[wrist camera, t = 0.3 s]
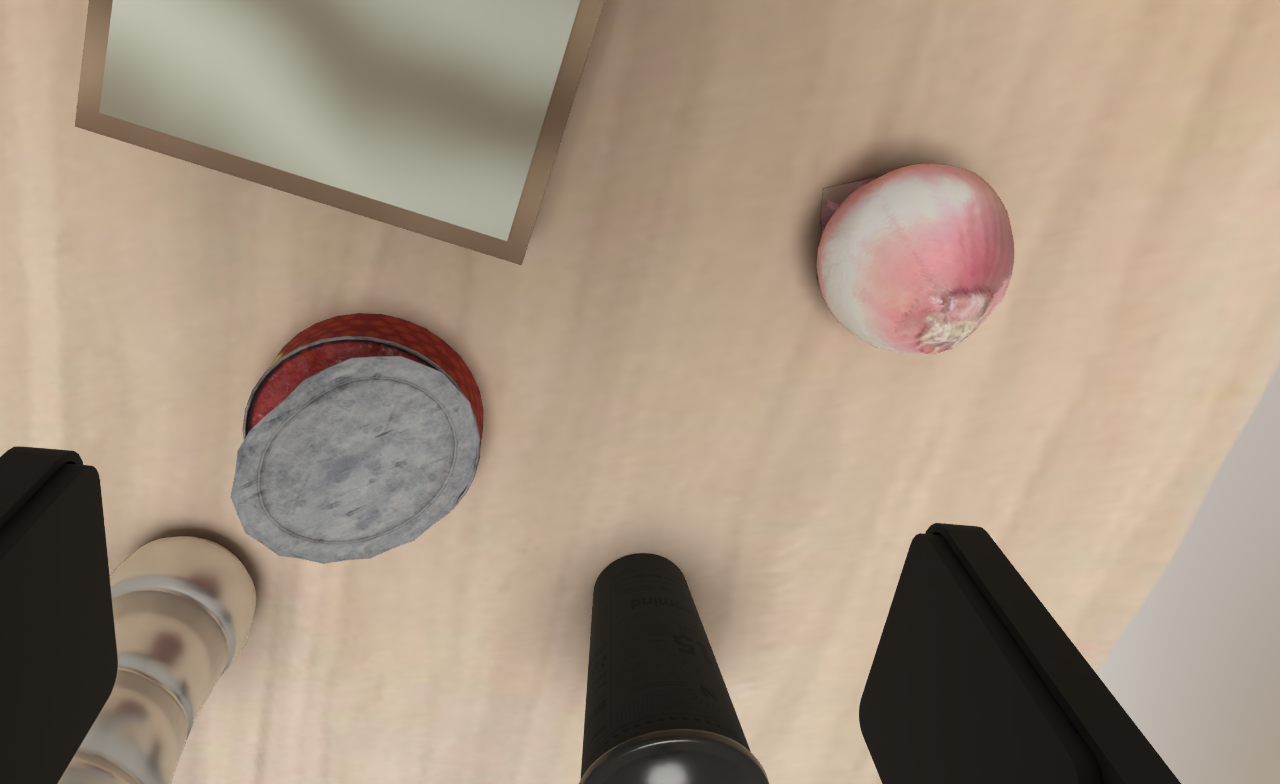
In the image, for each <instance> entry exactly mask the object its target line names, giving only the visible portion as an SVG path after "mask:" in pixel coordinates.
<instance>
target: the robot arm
mask: <svg viewBox="0 0 1280 784" xmlns="http://www.w3.org/2000/svg"><path fill="white" fill-rule="evenodd" d="M117 670H118V656H117V646H116V636H115V626H114V616H113V606H112V596H111V586H110V576H109V567H108V557H107V547H106V537H105V527H104V517H103V507H102V497H101V487H100V479H99V474H98V472H97V470H96V468H95V467H93V466H87V465H83V462H82V459H81V458H80V456H79V454H78V453H76V452H75V451H68V450H56V449H44V448H32V447H13V448H11V449H10V450H8V451H7V452H6V453H5V454H3V455H2V456H1V457H0V784H58V782H59V780H60V779H61V777H62V775H63V774H64V772H65V770H66V769H67V767H68V765H69V764H70V762H71V760H72V759H73V757H74V755H75V754H76V752H77V750H78V749H79V747H80V745H81V744H82V742H83V740H84V739H85V737H86V735H87V734H88V732H89V730H90V729H91V727H92V725H93V724H94V722H95V720H96V719H97V717H98V715H99V714H100V712H101V710H102V708H103V707H104V705H105V703H106V702H107V700H108V698H109V697H110V695H111V692H112V690H113V687H114V684H115V681H116V676H117ZM859 721H860V727H861V731H862V734H863V737H864V739H865V742H866V744H867V747H868V749H869V752H870V754H871V756H872V759H873V761H874V764H875V766H876V769H877V771H878V774H879V776H880V779H881V781H882V783H883V784H1181V783H1180V782H1179V780H1178V779H1177V778H1176V777H1175V775H1174V774H1173V773H1172V771H1171V770H1170V769H1169V768H1168V766H1167V765H1166V764H1165V763H1164V761H1163V760H1162V758H1161V757H1160V756H1159V754H1158V753H1157V752H1156V751H1155V749H1154V748H1153V747H1152V745H1151V744H1150V743H1149V742H1148V740H1147V739H1146V738H1145V736H1144V735H1143V734H1142V732H1141V731H1140V730H1139V729H1138V727H1137V726H1136V725H1135V723H1134V722H1133V721H1132V719H1131V718H1130V717H1129V716H1128V715H1127V713H1126V712H1125V711H1124V709H1123V708H1122V707H1121V706H1120V704H1119V703H1118V701H1117V700H1116V699H1115V697H1114V696H1113V695H1112V694H1111V692H1110V691H1109V690H1108V688H1107V687H1106V686H1105V684H1104V683H1103V682H1102V681H1101V679H1100V678H1099V677H1098V675H1097V674H1096V673H1095V672H1094V670H1093V669H1092V668H1091V666H1090V665H1089V664H1088V662H1087V661H1086V660H1085V659H1084V657H1083V656H1082V655H1081V653H1080V652H1079V651H1078V649H1077V648H1076V647H1075V646H1074V644H1073V643H1072V642H1071V640H1070V639H1069V638H1068V637H1067V635H1066V634H1065V633H1064V631H1063V630H1062V629H1061V627H1060V626H1059V625H1058V624H1057V622H1056V621H1055V620H1054V618H1053V617H1052V616H1051V614H1050V613H1049V612H1048V611H1047V609H1046V608H1045V607H1044V605H1043V604H1042V603H1041V602H1040V600H1039V599H1038V598H1037V596H1036V595H1035V594H1034V592H1033V591H1032V590H1031V589H1030V587H1029V586H1028V585H1027V583H1026V582H1025V581H1024V579H1023V578H1022V577H1021V576H1020V574H1019V573H1018V572H1017V570H1016V569H1015V568H1014V566H1013V565H1012V564H1011V563H1010V561H1009V560H1008V559H1007V557H1006V556H1005V555H1004V554H1003V552H1002V551H1001V550H1000V548H999V547H998V546H997V544H996V543H995V542H994V541H993V539H992V538H991V537H990V535H989V534H988V533H987V532H986V531H985V530H984V529H983V528H981V527H977V526H965V525H953V524H941V523H935V524H933V525H931V526H930V527H929V528H928V530H927V531H926V533H925V534H918V535H916V536H915V537H914V538H913V540H912V543H911V545H910V548H909V551H908V554H907V557H906V560H905V564H904V567H903V570H902V573H901V576H900V579H899V582H898V585H897V589H896V592H895V595H894V598H893V601H892V604H891V607H890V610H889V614H888V617H887V620H886V623H885V626H884V629H883V632H882V635H881V639H880V642H879V645H878V648H877V651H876V654H875V657H874V660H873V664H872V667H871V670H870V673H869V676H868V679H867V682H866V685H865V689H864V692H863V695H862V698H861V702H860V708H859Z"/></svg>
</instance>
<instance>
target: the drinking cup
mask: <svg viewBox="0 0 1280 784" xmlns="http://www.w3.org/2000/svg"><path fill="white" fill-rule="evenodd" d="M579 784H769V781H768V778H767V775H766V773H765V771H764V769H763V767H762V765H761V764H760V762H759V761H758V760H757V759H756V757H755V756H754V755H753V754H752V753H751V751H750V749H749V746H748V743H747V741H746V738H745V736H744V733H743V730H742V728H741V725H740V722H739V720H738V717H737V714H736V712H735V709H734V707H733V704H732V701H731V699H730V696H729V693H728V691H727V688H726V685H725V683H724V680H723V678H722V675H721V672H720V670H719V667H718V664H717V662H716V659H715V656H714V654H713V651H712V649H711V646H710V643H709V641H708V638H707V635H706V633H705V630H704V627H703V625H702V622H701V620H700V617H699V614H698V612H697V609H696V606H695V604H694V601H693V598H692V596H691V593H690V591H689V588H688V585H687V583H686V580H685V578H684V575H683V574H682V572H681V571H680V569H679V568H678V567H677V566H676V565H675V564H673V563H672V562H670V561H669V560H667V559H665V558H663V557H660V556H657V555H652V554H635V555H630V556H626V557H623V558H621V559H619V560H617V561H615V562H613V563H612V564H610V565H609V566H608V567H607V568H606V569H605V570H604V571H603V572H602V573H601V574H600V576H599V577H598V579H597V581H596V584H595V587H594V593H593V608H592V622H591V637H590V651H589V666H588V681H587V695H586V710H585V724H584V739H583V754H582V768H581V780H580V782H579Z"/></svg>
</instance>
